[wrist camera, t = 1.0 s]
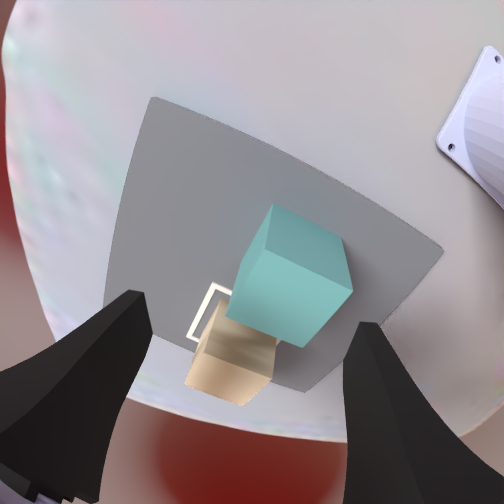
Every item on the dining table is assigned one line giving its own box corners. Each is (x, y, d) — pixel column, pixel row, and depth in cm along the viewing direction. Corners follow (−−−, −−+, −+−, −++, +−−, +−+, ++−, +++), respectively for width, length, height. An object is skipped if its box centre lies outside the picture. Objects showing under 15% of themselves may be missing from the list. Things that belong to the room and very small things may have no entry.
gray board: (440, 246, 17) (444, 252, 16) (304, 387, 27) (304, 393, 26) (155, 96, 15) (150, 97, 14) (105, 303, 24) (102, 309, 24)
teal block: (341, 237, 17) (353, 291, 13) (303, 290, 20) (302, 347, 15) (273, 202, 17) (264, 248, 12) (241, 261, 19) (224, 316, 15)
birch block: (278, 322, 21) (272, 378, 17) (252, 355, 24) (243, 406, 20) (221, 298, 21) (203, 352, 17) (201, 334, 23) (184, 384, 19)
